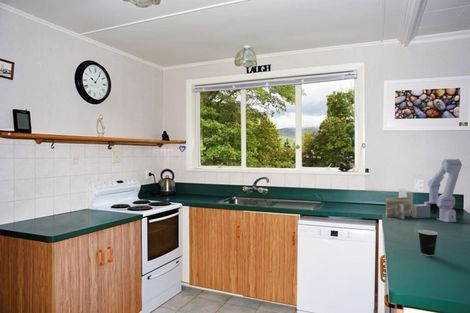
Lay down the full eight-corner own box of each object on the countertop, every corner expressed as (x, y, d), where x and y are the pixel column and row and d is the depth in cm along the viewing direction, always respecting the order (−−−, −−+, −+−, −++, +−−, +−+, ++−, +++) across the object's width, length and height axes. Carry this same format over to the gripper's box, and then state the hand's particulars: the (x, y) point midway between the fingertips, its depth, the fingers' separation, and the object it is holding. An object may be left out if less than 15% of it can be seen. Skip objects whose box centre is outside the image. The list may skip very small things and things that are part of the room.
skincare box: (413, 211, 253) (413, 192, 253) (406, 211, 254) (406, 191, 254) (404, 207, 274) (404, 189, 274) (397, 206, 275) (398, 188, 275)
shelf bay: (418, 218, 226) (418, 199, 226) (394, 219, 222) (394, 199, 222) (409, 215, 235) (409, 197, 235) (385, 216, 232) (385, 197, 231)
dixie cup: (419, 251, 149) (420, 228, 149) (439, 255, 143) (439, 231, 143) (415, 255, 143) (415, 231, 143) (435, 259, 138) (436, 235, 137)
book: (430, 217, 229) (430, 205, 229) (416, 218, 227) (416, 205, 227) (425, 216, 234) (425, 204, 234) (411, 216, 231) (411, 204, 231)
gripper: (437, 194, 238) (437, 212, 238) (421, 195, 235) (421, 213, 235) (445, 196, 231) (445, 214, 231) (428, 196, 228) (428, 215, 228)
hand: (433, 213), depth 233 cm, fingers closed
